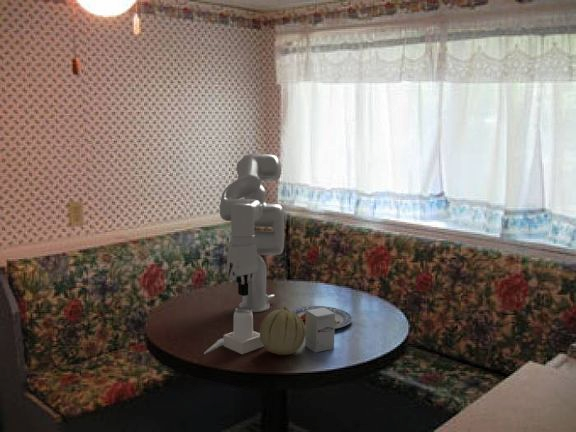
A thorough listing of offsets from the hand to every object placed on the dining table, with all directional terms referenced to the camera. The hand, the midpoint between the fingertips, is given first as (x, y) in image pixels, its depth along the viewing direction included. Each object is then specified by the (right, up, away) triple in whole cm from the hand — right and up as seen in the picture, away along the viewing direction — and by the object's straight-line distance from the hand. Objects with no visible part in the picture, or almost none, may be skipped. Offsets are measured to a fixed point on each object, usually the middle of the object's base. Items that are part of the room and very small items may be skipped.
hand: (243, 294), depth 191 cm
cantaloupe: (+13, -19, -2) cm, 23 cm away
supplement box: (+25, -18, +3) cm, 31 cm away
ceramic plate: (+26, -14, +27) cm, 40 cm away
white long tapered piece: (-9, -18, +3) cm, 21 cm away
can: (0, -17, +3) cm, 17 cm away
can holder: (0, -18, +3) cm, 18 cm away
